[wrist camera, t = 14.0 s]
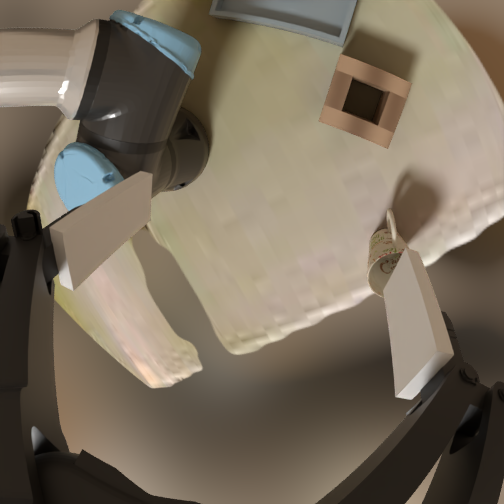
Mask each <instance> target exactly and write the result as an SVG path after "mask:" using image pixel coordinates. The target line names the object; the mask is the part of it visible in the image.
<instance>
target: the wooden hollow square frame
mask: <svg viewBox="0 0 504 504" xmlns="http://www.w3.org/2000/svg"><path fill="white" fill-rule="evenodd" d="M352 79H354V80H357V81H359V82H362V83H364V84H367V85H369V86H372V87H374V88H376V89H379V90H381V91H382V94H381V97H380V100H379V103H378V106H377V109H376V111H375V114H374V117H373V120H372V121H370V120H367V119H365V118H362V117H360V116H357V115H355V114H352V113H350V112H347V111H345V110H342V108H343V105H344V102H345V99H346V96H347V93H348V90H349V87H350V84H351V81H352ZM411 84H412V83H410V82H408V81H406V80H403V79H401V78H399V77H397V76H395V75H393V74H390V73H388V72H386V71H384V70H381V69H379V68H376V67H374V66H372V65H369V64H367V63H364V62H361V61H359V60H356V59H354V58H351V57H348V56H345V55H342V54H340V57H339V60H338V63H337V66H336V69H335V73H334V76H333V79H332V82H331V85H330V88H329V91H328V94H327V97H326V100H325V103H324V106H323V109H322V112H321V115H320V118H319V122H322V123H325V124H328V125H330V126H333V127H336V128H338V129H341V130H344V131H346V132H349V133H351V134H354V135H356V136H359V137H361V138H364V139H366V140H369V141H371V142H373V143H376V144H378V145H380V146H383V147H385V148H387V149H388V147H389V145H390V142H391V140H392V137H393V135H394V132H395V129H396V127H397V124H398V121H399V119H400V116H401V113H402V110H403V108H404V105H405V102H406V99H407V96H408V93H409V90H410V87H411Z"/></svg>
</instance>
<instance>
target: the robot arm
mask: <svg viewBox="0 0 504 504" xmlns="http://www.w3.org/2000/svg"><path fill="white" fill-rule="evenodd" d="M200 55H201V46H200V44H199V42H198V41H197V40H196V39H195V38H193V37H191V36H190V35H188V34H186V33H184V32H182V31H180V30H177V29H175V28H173V27H170V26H168V25H166V24H163V23H161V22H158V21H155V20H152V19H149V18H146V17H143V16H140V15H137V14H134V13H131V12H127V11H123V10H116V11H115V12H114V13H113V14H112V15H111V16H110V21H107V20H101V19H93V20H91V21H90V22H88V23H86V24H85V25H83V26H82V27H80V28H78V29H75V30H71V29H56V28H1V29H0V107H11V106H57V107H59V108H60V110H61V111H62V112H63V113H64V115H65V116H66V117H67V119H70V120H80V124H79V129H78V134H77V139H76V142H73V143H70V144H68V145H67V146H66V147H65V149H64V150H63V151H61V152H60V153H59V155H58V157H57V159H56V162H55V167H54V178H55V184H56V187H57V191H58V193H59V195H60V198H61V199H62V201H63V202H64V204H65V206H66V208H67V209H68V210H69V211H68V212H67V214H66V213H65V214H64V215H62V216H61V218H60V217H59V218H58V219H56V220H55V221H53V222H52V223H50V224H49V225H48V226H46V227H45V228H43V229H42V224H41V218H40V213H39V212H38V211H36V210H25V211H22V212H19V213H17V214H16V215H15V216H14V217H13V218H12V219H11V222H12V227H13V232H14V236H8V235H7V231H6V227H5V226H4V225H1V224H0V504H200V503H197V502H193V501H184V500H177V499H170V498H163V497H158V496H153V495H150V494H148V493H146V492H145V491H144V490H142V489H141V488H140V487H138V486H137V485H136V484H134V483H133V482H132V481H131V480H129V479H128V478H127V477H125V476H124V475H123V474H122V473H121V472H119V471H118V470H117V469H116V468H114V467H112V466H111V465H109V464H107V463H105V462H103V461H101V460H100V459H98V458H96V457H94V456H93V455H91V454H89V453H87V452H86V451H84V450H82V451H81V453H80V454H76V453H71V452H69V449H68V445H67V443H66V440H65V437H64V435H63V433H62V430H61V426H60V421H59V413H58V406H57V397H56V386H55V373H54V353H53V307H54V287H55V285H54V280H53V278H54V277H55V276H56V275H57V274H59V278H60V282H61V285H63V286H65V287H67V288H69V289H71V290H73V291H74V290H75V289H76V288H77V287H78V286H79V285H80V284H81V283H82V282H83V281H84V280H85V279H87V278H88V277H89V276H90V275H91V274H92V273H93V272H94V271H95V270H96V269H97V268H98V267H99V266H100V265H101V264H102V263H103V262H104V261H105V260H106V259H108V258H109V257H110V256H111V255H112V254H113V253H114V252H115V251H116V250H117V249H118V248H120V247H121V246H122V245H123V244H124V243H125V242H126V241H127V240H128V239H130V238H131V237H132V236H133V235H134V234H135V233H136V232H138V231H139V230H140V229H141V228H142V227H143V226H144V225H146V224H147V223H148V222H149V221H150V220H151V199H152V198H153V197H154V196H156V195H157V194H159V193H160V192H165V191H175V190H179V189H181V188H184V187H186V186H187V185H189V184H190V183H192V182H193V181H194V180H196V179H197V178H198V177H199V176H200V174H201V173H202V171H203V170H204V168H205V166H206V163H207V160H208V155H209V144H208V138H207V135H206V132H205V130H204V128H203V126H202V124H201V123H200V121H199V120H198V119H197V118H196V117H195V116H194V115H193V114H192V113H190V112H189V111H187V110H185V109H183V108H180V106H181V104H182V101H183V99H184V96H185V94H186V91H187V89H188V86H189V84H190V81H191V79H192V80H193V78H194V71H195V68H196V66H197V63H198V61H199V58H200ZM383 293H384V299H385V306H386V312H387V319H388V326H389V333H390V342H391V350H392V360H393V370H394V383H395V396H396V397H399V398H405V399H412V398H414V397H415V396H416V395H417V394H418V393H419V392H420V391H421V398H422V399H421V400H420V401H419V402H418V403H417V404H416V405H415V406H414V407H412V408H411V410H409V411H408V412H407V413H406V414H407V416H406V417H405V418H404V420H403V421H402V422H401V423H400V424H399V425H398V427H397V428H396V429H395V430H394V431H393V432H392V433H391V434H390V436H388V438H387V439H386V440H385V441H384V442H383V443H382V444H381V445H380V446H379V447H378V448H377V449H376V450H375V451H374V452H373V453H372V454H371V455H370V456H369V457H368V458H367V459H366V460H365V461H364V462H363V463H362V464H361V465H360V466H359V467H358V468H357V469H356V470H355V471H354V472H352V473H351V474H350V475H349V476H348V477H347V478H346V479H345V480H343V481H342V482H341V483H340V484H339V485H338V486H337V487H335V488H334V489H333V490H332V491H331V492H329V493H328V494H327V495H326V496H325V497H324V498H322V499H321V500H319V501H318V502H317V503H316V504H405V503H406V502H407V501H408V499H409V498H410V497H411V496H412V494H413V493H414V492H415V491H416V489H417V488H418V486H419V485H420V484H421V483H422V481H423V480H424V479H425V477H426V476H427V475H428V473H429V472H430V470H431V469H432V468H433V466H434V465H435V463H436V462H437V460H438V459H439V457H440V456H441V454H442V456H441V459H440V461H439V464H438V467H437V469H436V472H435V474H434V477H433V479H432V482H431V484H430V486H429V489H428V491H427V493H426V496H425V498H424V500H423V502H422V504H497V503H498V499H499V496H500V492H501V488H502V483H503V479H504V383H503V382H496V383H495V384H494V385H493V386H492V387H491V388H488V387H486V386H484V385H483V384H481V383H479V382H480V381H479V377H478V374H477V372H476V370H475V369H474V368H473V367H472V366H471V365H469V364H468V363H466V362H464V360H463V357H462V353H461V350H460V346H459V343H458V340H457V339H456V338H457V337H456V334H455V332H454V328H453V325H452V322H451V320H450V319H449V317H448V316H447V314H446V313H445V312H442V311H441V310H440V307H439V304H438V302H437V299H436V296H435V293H434V291H433V288H432V285H431V283H430V280H429V278H428V275H427V272H426V270H425V267H424V265H423V262H422V260H421V257H420V255H419V253H418V252H417V251H414V250H411V249H408V248H405V249H404V251H403V253H402V256H401V258H400V259H399V261H398V263H397V265H396V267H395V269H394V271H393V273H392V275H391V277H390V279H389V281H388V282H387V284H386V286H385V288H384V290H383Z"/></svg>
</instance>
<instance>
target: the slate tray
mask: <svg viewBox="0 0 504 504" xmlns="http://www.w3.org/2000/svg"><path fill="white" fill-rule="evenodd" d="M356 2H357V0H213V2H212V5H211V8H210V12H209V15H211V16H213V17H215V18H220V19H228V20H234V21H241V22H247V23H252V24H258V25H263V26H268V27H272V28H277V29H281V30H286V31H290V32H294V33H298V34H301V35H305V36H309V37H312V38H316V39H319V40H322V41H325V42H329V43H332V44H335V45H338V46H341V47H343V44H344V41H345V38H346V35H347V31H348V28H349V25H350V22H351V18H352V15H353V12H354V9H355V5H356Z"/></svg>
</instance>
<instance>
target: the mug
mask: <svg viewBox="0 0 504 504" xmlns="http://www.w3.org/2000/svg"><path fill="white" fill-rule="evenodd" d="M386 219H387V227H388V229H381V230H379V231H377V232H376V233H375V234H374V235H373V236H372V238H371V240H370V243H369V257H368V270H367V280H368V284H369V287H370V288H371V290H372V291H373V292H374V293H375V294H377V295H379V296H381V297H383V298H384V293H383V290H384V288H385V286H386V284H387V282H388V281H389V279H390V277H391V275H392V273H393V271H394V269H395V267H396V265H397V263H398V261H399V259H400V258H401V256H402V253H403V251H404V249H405V248H408V249H409V247H408V246H407V244H406V243H405V242H404V240H403V239H402V237H401V236H400V235H399V233H398V232H396V224H395V219H394V215H393V212H392V210H391V209H388V210H387V217H386Z"/></svg>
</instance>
